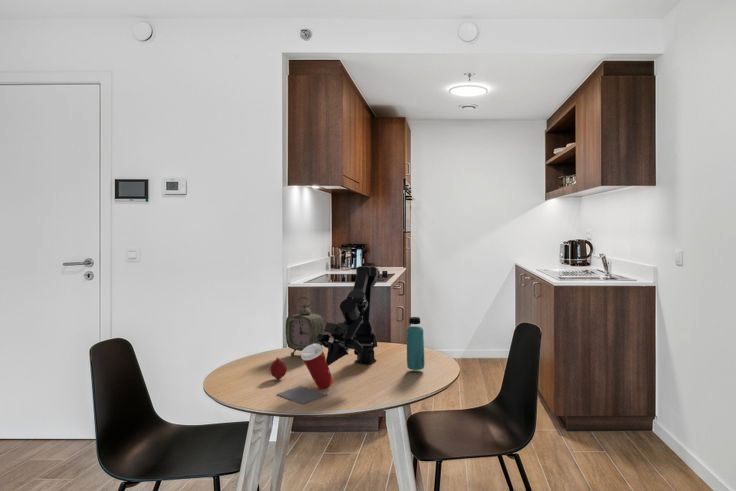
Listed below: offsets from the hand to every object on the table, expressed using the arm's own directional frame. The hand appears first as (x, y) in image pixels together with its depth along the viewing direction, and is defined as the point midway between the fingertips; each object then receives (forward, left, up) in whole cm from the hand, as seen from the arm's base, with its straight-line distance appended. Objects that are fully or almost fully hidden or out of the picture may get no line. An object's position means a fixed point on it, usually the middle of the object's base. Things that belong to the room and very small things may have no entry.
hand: (326, 364), depth 157 cm
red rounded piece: (-19, -6, -8) cm, 21 cm away
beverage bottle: (+14, +31, -8) cm, 35 cm away
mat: (-1, -11, -7) cm, 13 cm away
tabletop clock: (-34, +20, -8) cm, 41 cm away
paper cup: (0, -1, -6) cm, 6 cm away
